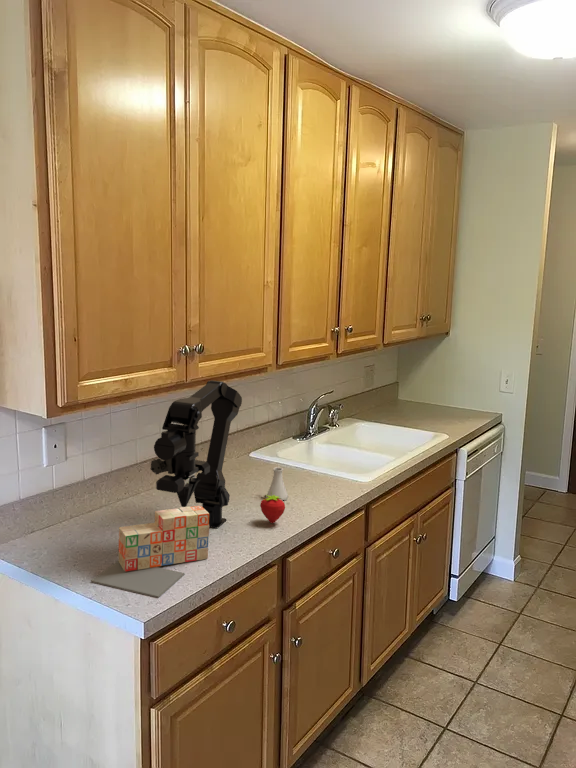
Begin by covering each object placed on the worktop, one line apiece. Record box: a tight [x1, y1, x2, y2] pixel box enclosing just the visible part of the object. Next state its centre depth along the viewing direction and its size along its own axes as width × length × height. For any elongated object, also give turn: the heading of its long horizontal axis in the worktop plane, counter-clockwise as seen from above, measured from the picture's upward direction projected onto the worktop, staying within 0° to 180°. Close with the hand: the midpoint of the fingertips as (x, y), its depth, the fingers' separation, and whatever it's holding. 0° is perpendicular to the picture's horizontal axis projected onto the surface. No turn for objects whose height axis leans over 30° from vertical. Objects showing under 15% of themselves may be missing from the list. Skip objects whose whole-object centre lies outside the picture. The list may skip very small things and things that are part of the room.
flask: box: [265, 466, 289, 502], centre depth 208 cm, size 7×7×10 cm
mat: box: [90, 560, 185, 599], centre depth 153 cm, size 12×18×1 cm, turn 70°
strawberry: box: [259, 492, 286, 524], centre depth 187 cm, size 6×8×10 cm
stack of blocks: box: [118, 505, 210, 572], centre depth 161 cm, size 21×6×12 cm, turn 118°
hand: (183, 506), depth 169 cm, fingers closed
